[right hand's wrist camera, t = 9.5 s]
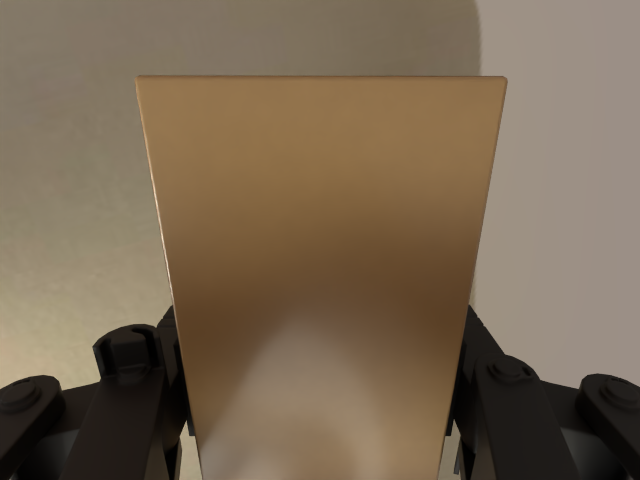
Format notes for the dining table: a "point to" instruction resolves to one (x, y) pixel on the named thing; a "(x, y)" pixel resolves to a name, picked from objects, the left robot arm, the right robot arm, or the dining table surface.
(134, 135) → the dining table surface
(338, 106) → the bar
